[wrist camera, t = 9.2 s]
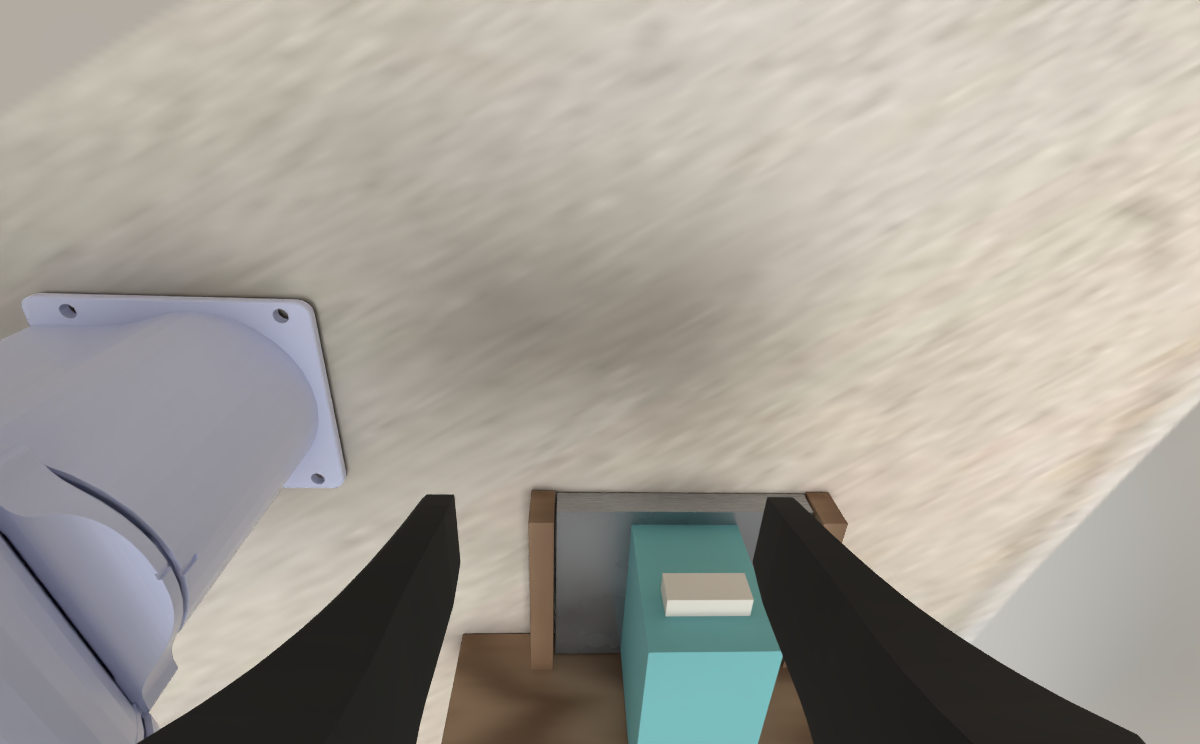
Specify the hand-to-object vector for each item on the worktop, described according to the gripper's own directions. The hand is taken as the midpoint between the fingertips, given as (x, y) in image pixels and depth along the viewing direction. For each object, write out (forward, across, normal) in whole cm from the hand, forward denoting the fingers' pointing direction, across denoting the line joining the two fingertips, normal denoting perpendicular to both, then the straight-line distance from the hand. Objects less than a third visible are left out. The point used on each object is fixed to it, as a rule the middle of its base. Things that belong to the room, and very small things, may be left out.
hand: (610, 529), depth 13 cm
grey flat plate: (+9, -4, +11) cm, 15 cm away
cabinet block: (+8, -4, +11) cm, 15 cm away
